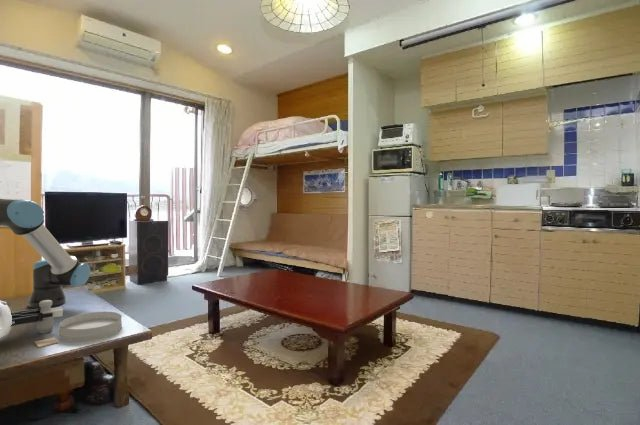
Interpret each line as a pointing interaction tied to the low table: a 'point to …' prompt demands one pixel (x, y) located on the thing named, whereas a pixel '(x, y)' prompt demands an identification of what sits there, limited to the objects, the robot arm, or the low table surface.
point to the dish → (90, 326)
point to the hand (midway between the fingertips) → (62, 311)
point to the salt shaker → (46, 323)
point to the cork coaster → (46, 342)
